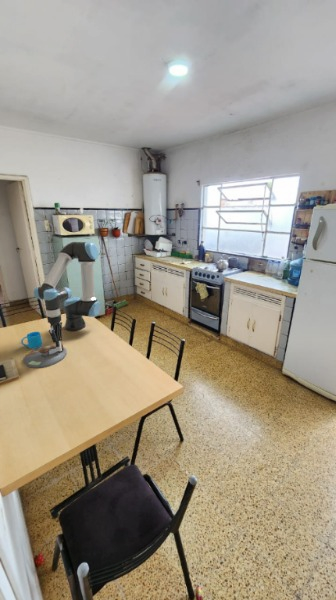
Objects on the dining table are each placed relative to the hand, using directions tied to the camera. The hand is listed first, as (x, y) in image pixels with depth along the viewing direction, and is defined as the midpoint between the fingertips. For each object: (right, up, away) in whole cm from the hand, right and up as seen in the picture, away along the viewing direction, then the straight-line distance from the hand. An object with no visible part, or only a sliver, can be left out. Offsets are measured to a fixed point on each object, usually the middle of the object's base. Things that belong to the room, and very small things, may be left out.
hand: (59, 350), depth 156 cm
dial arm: (-8, -2, -1) cm, 9 cm away
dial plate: (-8, -4, -1) cm, 9 cm away
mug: (-23, +1, +12) cm, 26 cm away
